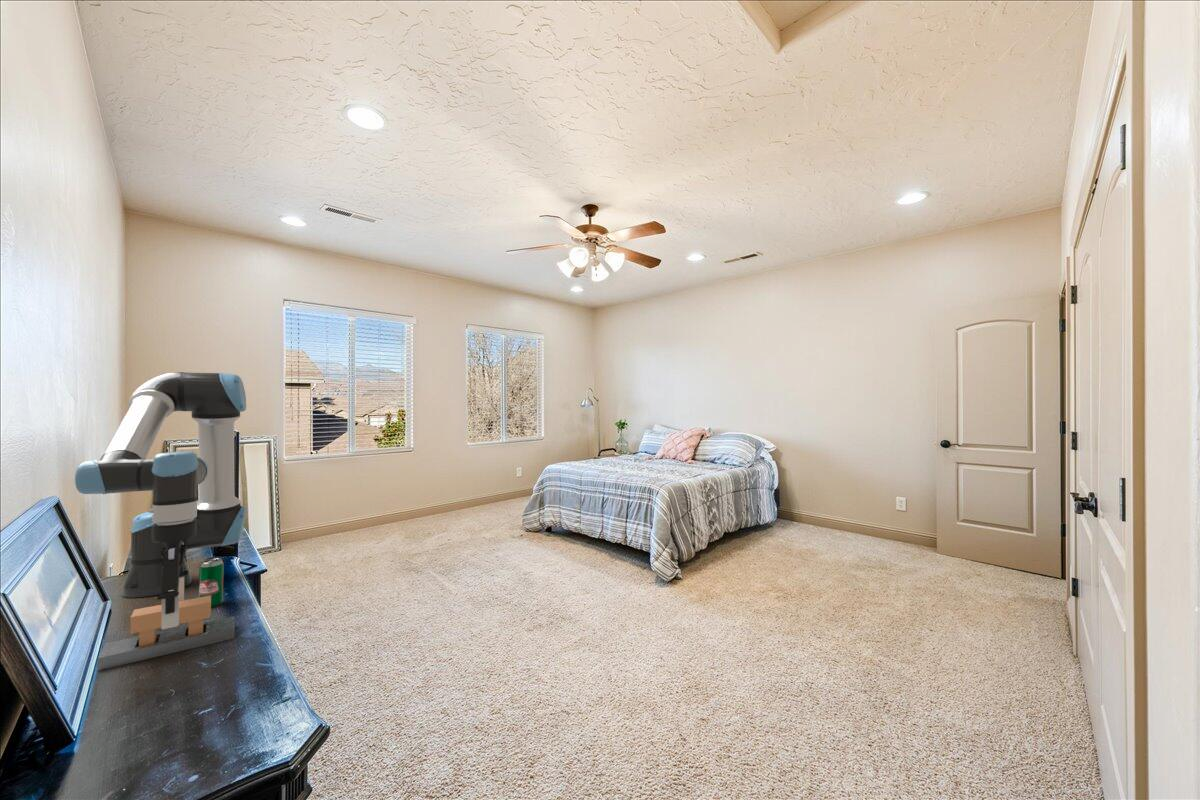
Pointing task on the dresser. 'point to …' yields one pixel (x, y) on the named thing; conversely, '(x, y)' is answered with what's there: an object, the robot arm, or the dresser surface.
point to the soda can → (211, 580)
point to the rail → (165, 643)
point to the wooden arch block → (151, 618)
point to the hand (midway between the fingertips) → (173, 616)
